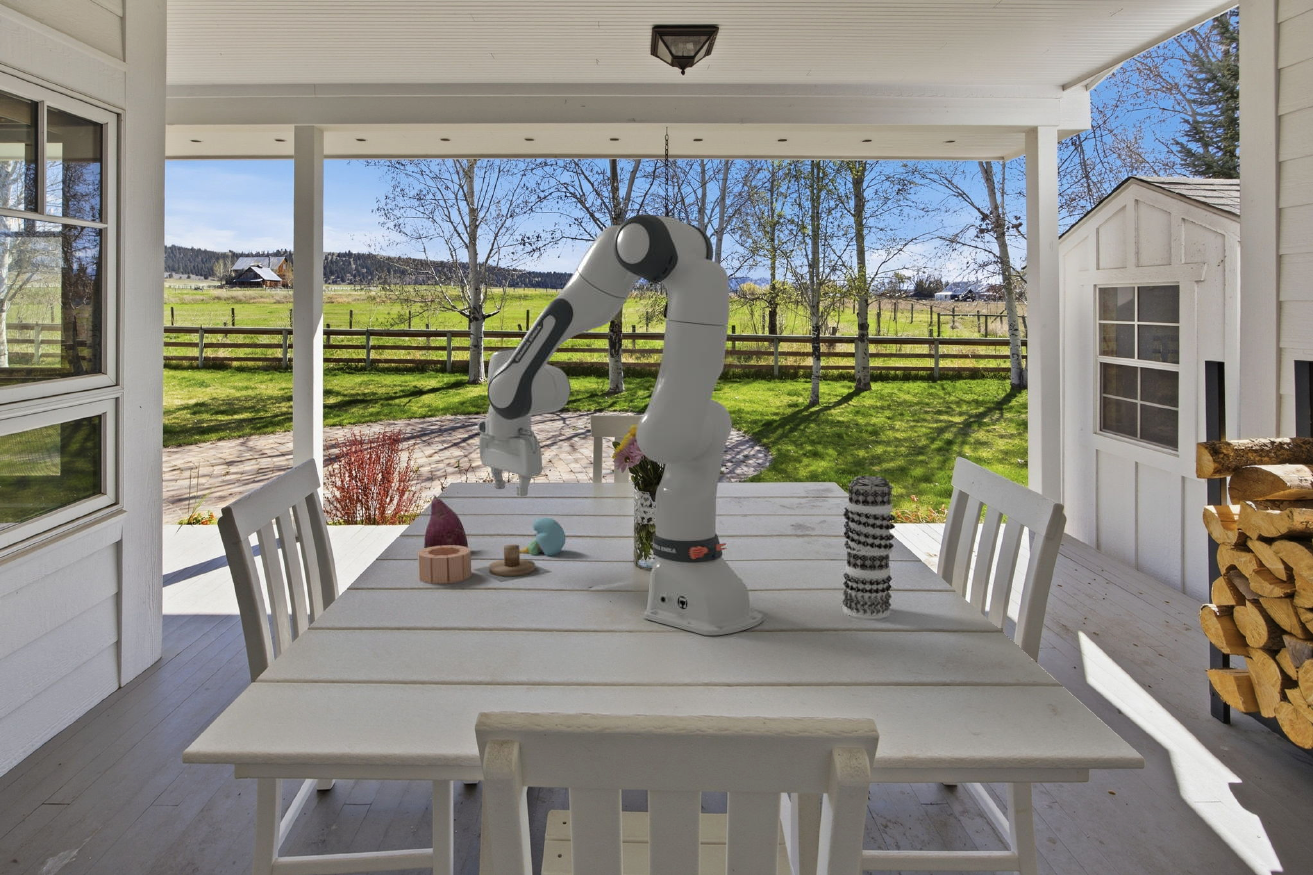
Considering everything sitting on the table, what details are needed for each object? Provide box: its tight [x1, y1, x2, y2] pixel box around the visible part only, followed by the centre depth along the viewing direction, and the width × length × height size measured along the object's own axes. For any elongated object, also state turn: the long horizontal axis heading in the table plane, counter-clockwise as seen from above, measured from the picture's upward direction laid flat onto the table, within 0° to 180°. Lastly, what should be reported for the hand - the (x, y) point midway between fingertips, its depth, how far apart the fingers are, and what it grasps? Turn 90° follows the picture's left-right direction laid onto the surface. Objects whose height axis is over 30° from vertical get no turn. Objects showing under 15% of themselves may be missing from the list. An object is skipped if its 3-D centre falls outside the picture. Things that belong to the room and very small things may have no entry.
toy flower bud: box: [519, 517, 566, 556], centre depth 203 cm, size 7×9×12 cm
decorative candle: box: [842, 475, 896, 620], centre depth 162 cm, size 9×9×25 cm
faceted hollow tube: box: [417, 545, 472, 584], centre depth 184 cm, size 10×11×6 cm
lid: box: [488, 544, 536, 577], centre depth 188 cm, size 10×10×5 cm
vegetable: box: [423, 495, 469, 549], centre depth 206 cm, size 10×10×15 cm
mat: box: [473, 564, 552, 583], centre depth 189 cm, size 12×12×1 cm
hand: (510, 492), depth 187 cm, fingers open, 8 cm apart
